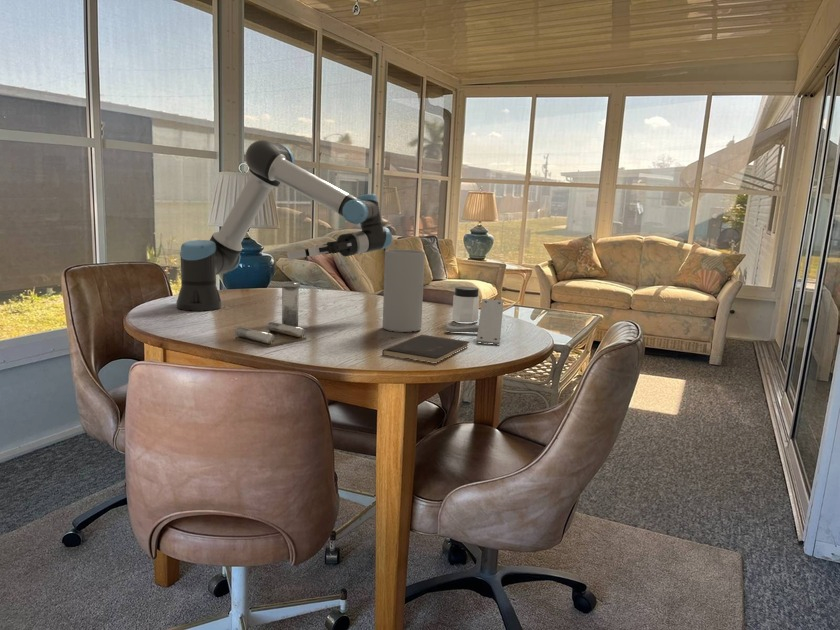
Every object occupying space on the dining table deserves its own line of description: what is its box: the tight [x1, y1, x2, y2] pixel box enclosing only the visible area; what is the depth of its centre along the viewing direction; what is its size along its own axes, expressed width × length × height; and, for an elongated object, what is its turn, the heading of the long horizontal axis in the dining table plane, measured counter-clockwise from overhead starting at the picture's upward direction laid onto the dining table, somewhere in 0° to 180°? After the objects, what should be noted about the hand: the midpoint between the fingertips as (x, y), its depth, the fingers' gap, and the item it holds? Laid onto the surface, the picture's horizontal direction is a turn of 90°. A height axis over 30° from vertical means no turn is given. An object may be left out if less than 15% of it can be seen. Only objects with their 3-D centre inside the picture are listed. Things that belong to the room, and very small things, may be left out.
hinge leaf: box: [234, 321, 307, 348], centre depth 181 cm, size 14×14×3 cm
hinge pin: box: [280, 281, 301, 327], centre depth 198 cm, size 6×6×14 cm
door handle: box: [444, 298, 504, 345], centre depth 197 cm, size 18×8×20 cm
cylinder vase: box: [382, 249, 426, 333], centre depth 202 cm, size 12×12×25 cm
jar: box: [451, 286, 480, 322], centre depth 220 cm, size 9×8×12 cm
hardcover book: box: [381, 334, 470, 363], centre depth 176 cm, size 16×23×2 cm
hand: (298, 254), depth 202 cm, fingers open, 13 cm apart
